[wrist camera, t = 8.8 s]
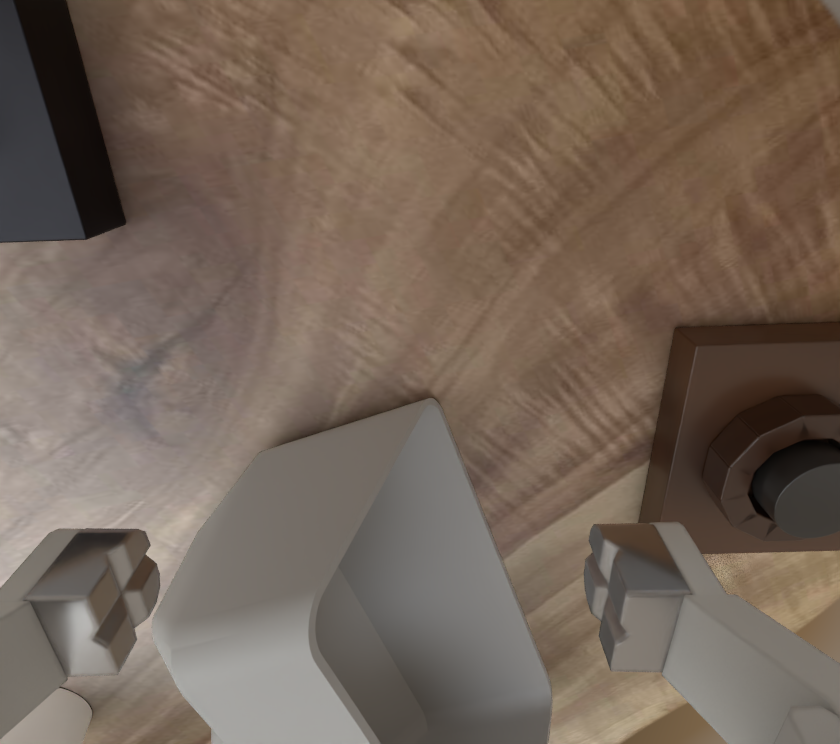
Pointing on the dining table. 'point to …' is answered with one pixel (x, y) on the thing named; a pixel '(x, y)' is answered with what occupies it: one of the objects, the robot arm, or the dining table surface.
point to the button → (801, 488)
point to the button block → (739, 428)
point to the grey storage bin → (354, 599)
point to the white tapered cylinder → (53, 721)
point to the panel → (49, 132)
